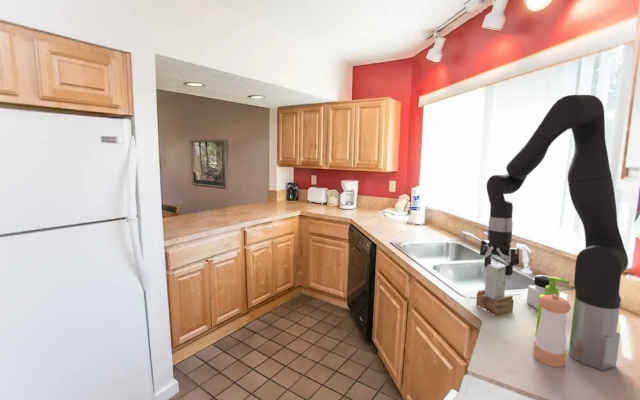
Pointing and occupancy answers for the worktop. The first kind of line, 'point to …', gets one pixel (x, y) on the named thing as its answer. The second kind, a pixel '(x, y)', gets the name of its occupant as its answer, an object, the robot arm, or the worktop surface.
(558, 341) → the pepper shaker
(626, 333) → the worktop surface
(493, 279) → the skincare box
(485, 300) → the display pedestal
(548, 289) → the soap dispenser
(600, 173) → the robot arm
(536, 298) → the medicine bottle
